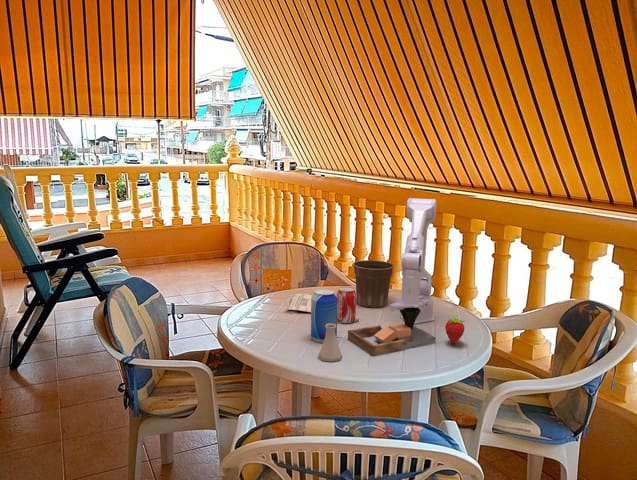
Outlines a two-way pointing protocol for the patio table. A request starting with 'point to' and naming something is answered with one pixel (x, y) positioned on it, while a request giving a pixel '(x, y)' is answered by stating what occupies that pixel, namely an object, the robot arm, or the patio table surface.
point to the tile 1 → (385, 335)
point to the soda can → (346, 305)
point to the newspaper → (298, 303)
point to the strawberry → (454, 329)
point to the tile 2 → (401, 330)
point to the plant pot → (372, 282)
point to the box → (358, 339)
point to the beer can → (323, 313)
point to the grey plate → (417, 338)
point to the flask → (330, 345)
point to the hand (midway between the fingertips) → (408, 329)
